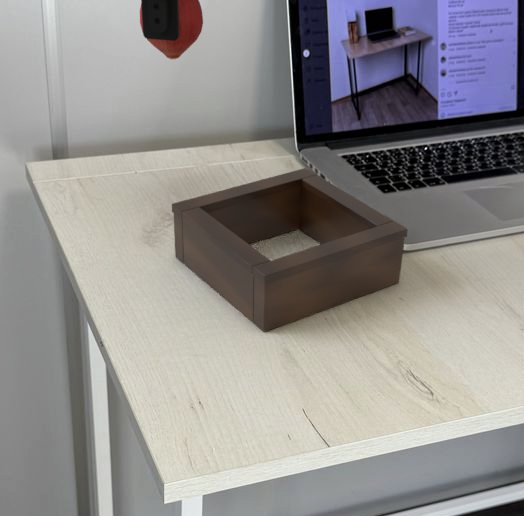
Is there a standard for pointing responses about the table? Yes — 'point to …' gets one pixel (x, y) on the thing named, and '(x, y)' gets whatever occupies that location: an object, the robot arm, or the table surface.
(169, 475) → the table surface
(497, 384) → the table surface
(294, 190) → the wooden box
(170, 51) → the red rounded tapered piece
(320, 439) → the table surface
